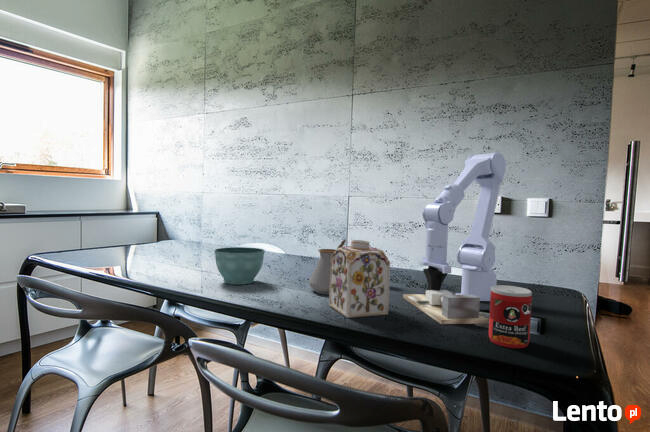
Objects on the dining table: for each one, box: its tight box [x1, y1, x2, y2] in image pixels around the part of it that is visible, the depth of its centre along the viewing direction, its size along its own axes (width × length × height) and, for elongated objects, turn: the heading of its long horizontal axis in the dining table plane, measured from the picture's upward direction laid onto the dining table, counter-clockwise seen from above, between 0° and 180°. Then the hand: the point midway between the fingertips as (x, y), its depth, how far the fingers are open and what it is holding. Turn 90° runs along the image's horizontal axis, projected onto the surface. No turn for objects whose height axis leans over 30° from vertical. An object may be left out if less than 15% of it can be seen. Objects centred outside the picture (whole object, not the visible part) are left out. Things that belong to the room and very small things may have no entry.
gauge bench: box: [402, 293, 489, 325], centre depth 104 cm, size 12×25×6 cm, turn 9°
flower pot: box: [213, 246, 266, 286], centre depth 128 cm, size 16×16×11 cm
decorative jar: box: [328, 239, 391, 319], centre depth 99 cm, size 12×12×18 cm
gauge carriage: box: [417, 289, 454, 305], centre depth 102 cm, size 9×10×3 cm
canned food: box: [488, 284, 533, 349], centre depth 80 cm, size 8×8×11 cm
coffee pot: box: [308, 239, 349, 295], centre depth 124 cm, size 21×12×15 cm, turn 158°
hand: (434, 294), depth 108 cm, fingers closed
